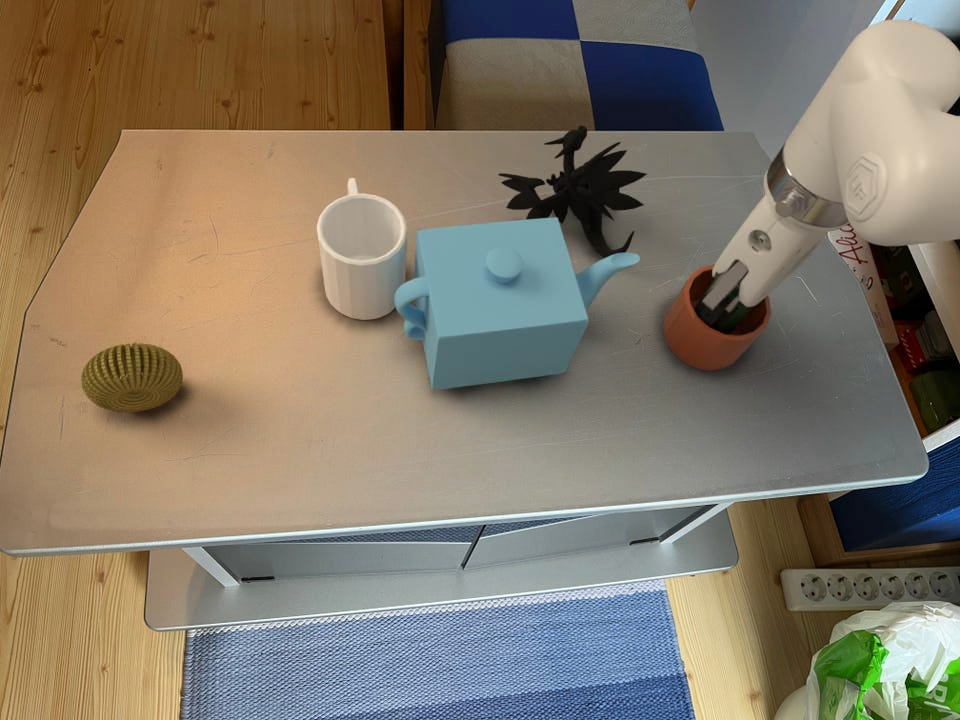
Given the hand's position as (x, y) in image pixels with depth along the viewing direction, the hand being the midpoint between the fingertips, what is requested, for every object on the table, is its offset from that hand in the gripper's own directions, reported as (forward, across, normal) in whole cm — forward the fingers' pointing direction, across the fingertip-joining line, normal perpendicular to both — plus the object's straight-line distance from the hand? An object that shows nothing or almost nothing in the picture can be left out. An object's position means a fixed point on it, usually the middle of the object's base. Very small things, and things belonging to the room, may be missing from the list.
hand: (724, 304), depth 73 cm
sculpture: (+6, -47, +29) cm, 56 cm away
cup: (+6, 0, 0) cm, 6 cm away
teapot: (+6, -17, +13) cm, 22 cm away
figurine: (+6, -3, +19) cm, 20 cm away
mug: (+6, -23, +28) cm, 37 cm away
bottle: (+5, 0, 0) cm, 5 cm away
